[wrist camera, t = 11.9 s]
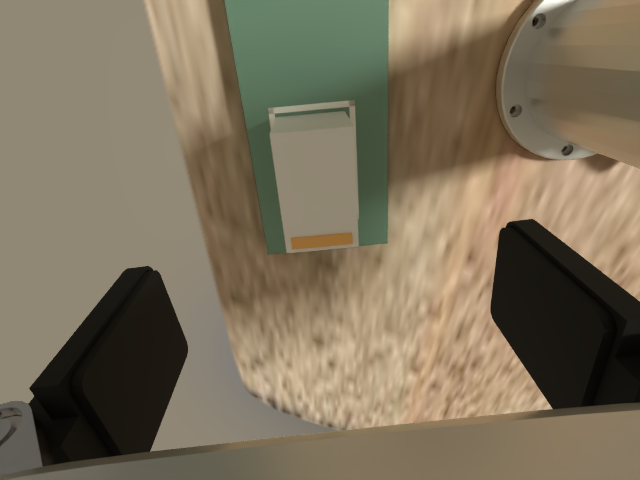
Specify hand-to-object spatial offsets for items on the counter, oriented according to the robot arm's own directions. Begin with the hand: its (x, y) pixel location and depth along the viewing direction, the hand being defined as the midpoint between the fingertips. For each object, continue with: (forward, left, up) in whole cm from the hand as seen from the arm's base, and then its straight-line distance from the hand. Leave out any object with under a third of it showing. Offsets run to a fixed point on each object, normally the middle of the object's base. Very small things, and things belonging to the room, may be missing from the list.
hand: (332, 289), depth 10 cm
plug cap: (-1, +2, -18) cm, 18 cm away
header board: (+2, -3, -20) cm, 20 cm away
